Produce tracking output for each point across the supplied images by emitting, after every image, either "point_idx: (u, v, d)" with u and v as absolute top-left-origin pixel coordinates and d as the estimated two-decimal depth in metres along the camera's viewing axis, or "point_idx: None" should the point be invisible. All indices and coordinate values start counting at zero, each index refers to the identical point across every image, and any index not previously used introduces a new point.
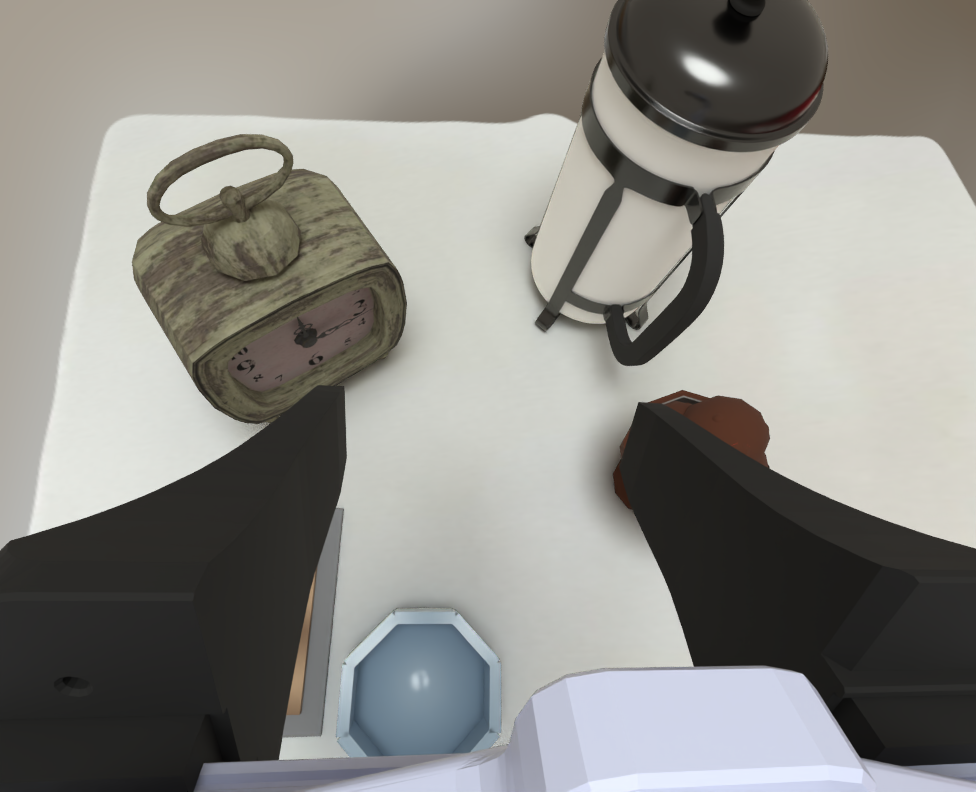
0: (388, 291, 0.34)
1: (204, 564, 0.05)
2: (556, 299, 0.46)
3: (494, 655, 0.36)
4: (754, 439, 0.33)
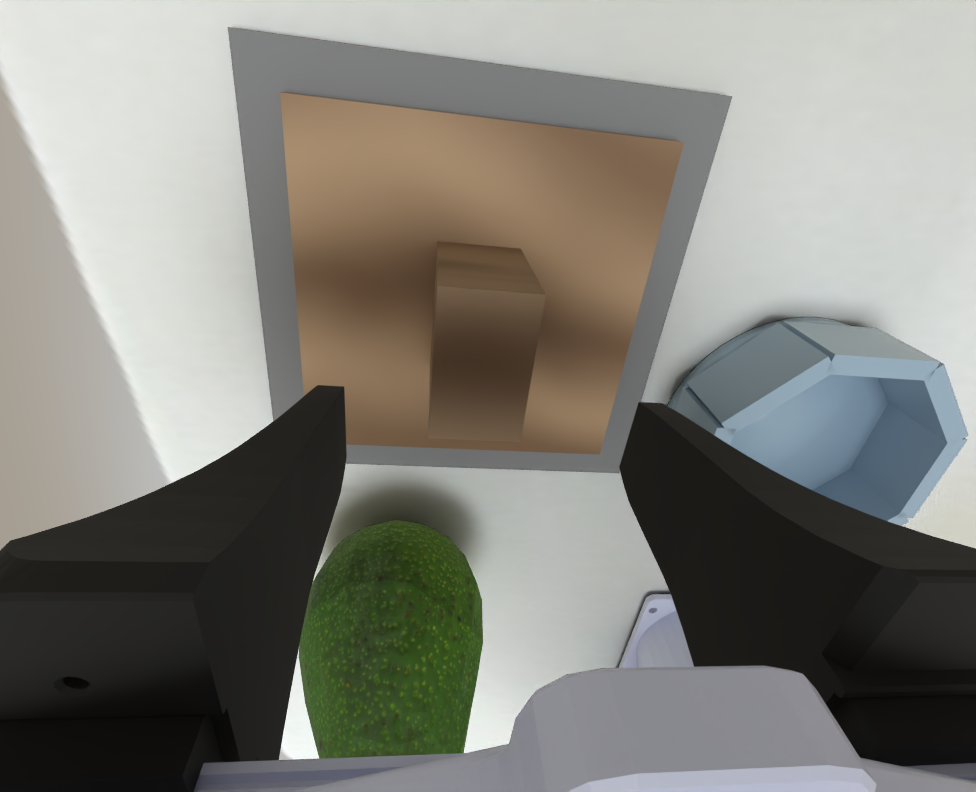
0: None
1: (204, 564, 0.05)
2: None
3: (964, 430, 0.21)
4: None
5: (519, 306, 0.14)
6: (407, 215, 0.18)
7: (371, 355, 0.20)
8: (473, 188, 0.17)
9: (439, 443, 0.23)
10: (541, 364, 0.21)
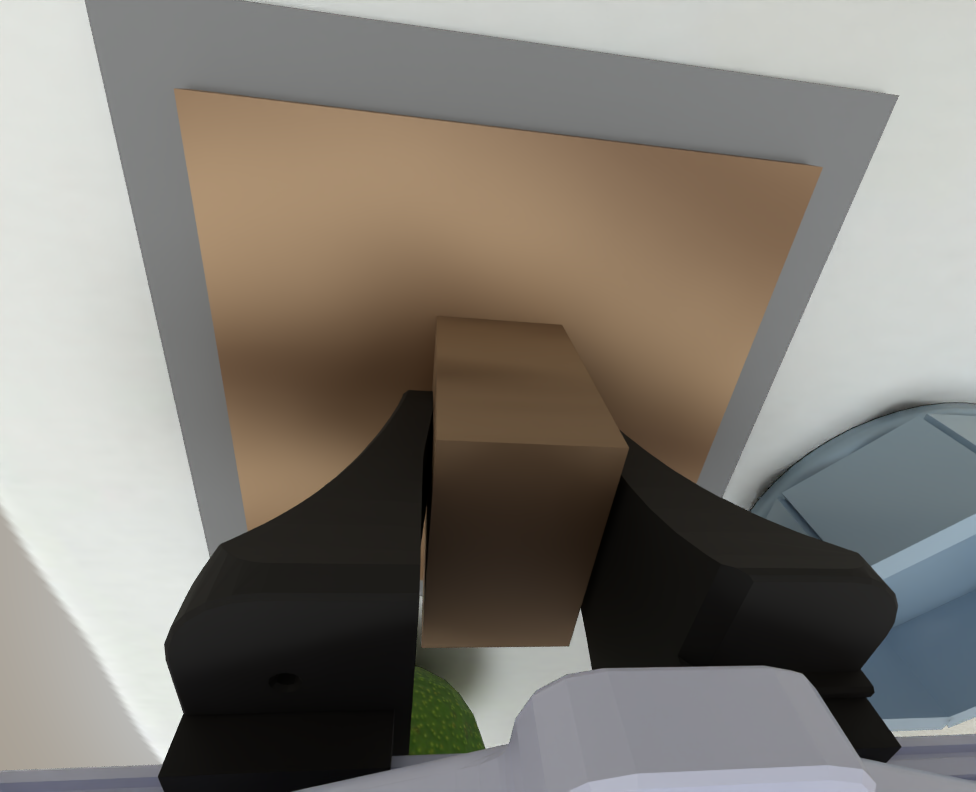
0: None
1: (415, 566, 0.05)
2: None
3: None
4: None
5: (582, 466, 0.08)
6: (390, 279, 0.11)
7: (341, 470, 0.14)
8: (492, 238, 0.11)
9: None
10: None
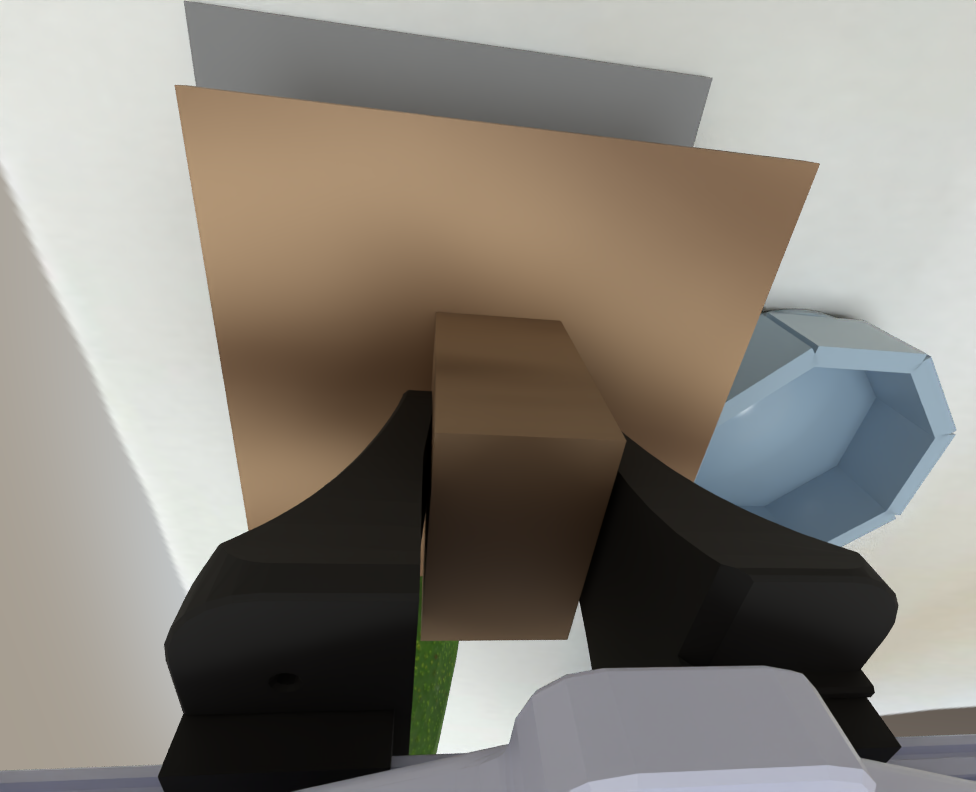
0: None
1: (414, 566, 0.05)
2: None
3: (951, 424, 0.20)
4: None
5: (579, 458, 0.08)
6: (389, 275, 0.11)
7: (341, 466, 0.14)
8: (491, 235, 0.11)
9: None
10: None
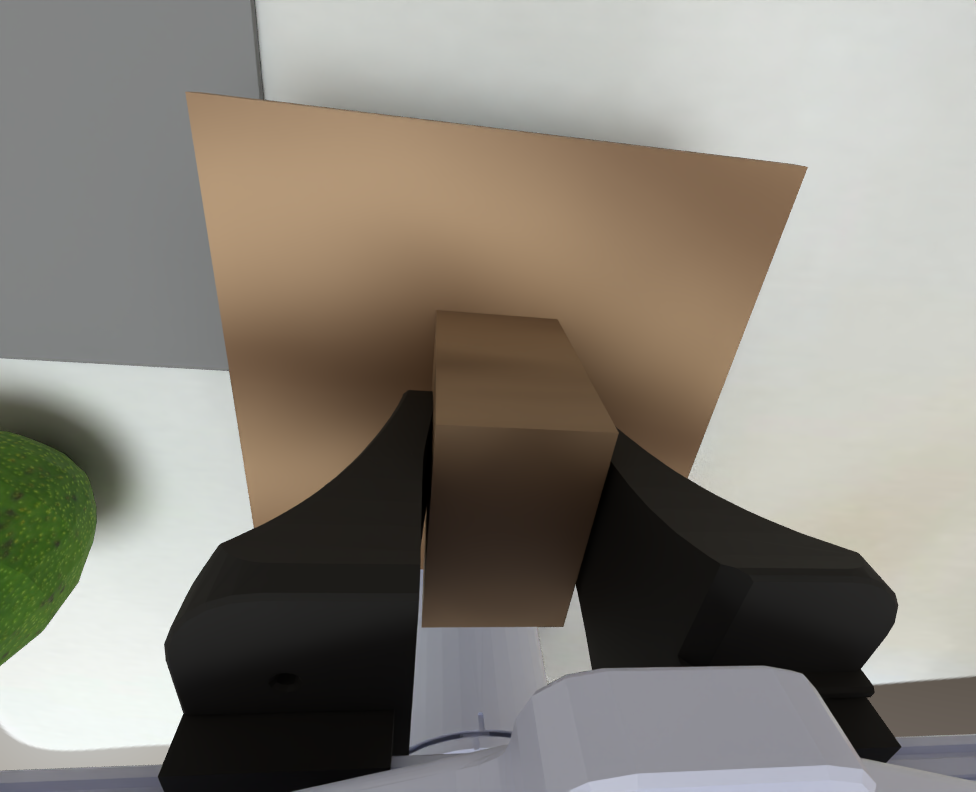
0: None
1: (414, 566, 0.05)
2: None
3: None
4: None
5: (574, 450, 0.09)
6: (391, 275, 0.12)
7: (343, 461, 0.14)
8: (490, 235, 0.12)
9: None
10: None
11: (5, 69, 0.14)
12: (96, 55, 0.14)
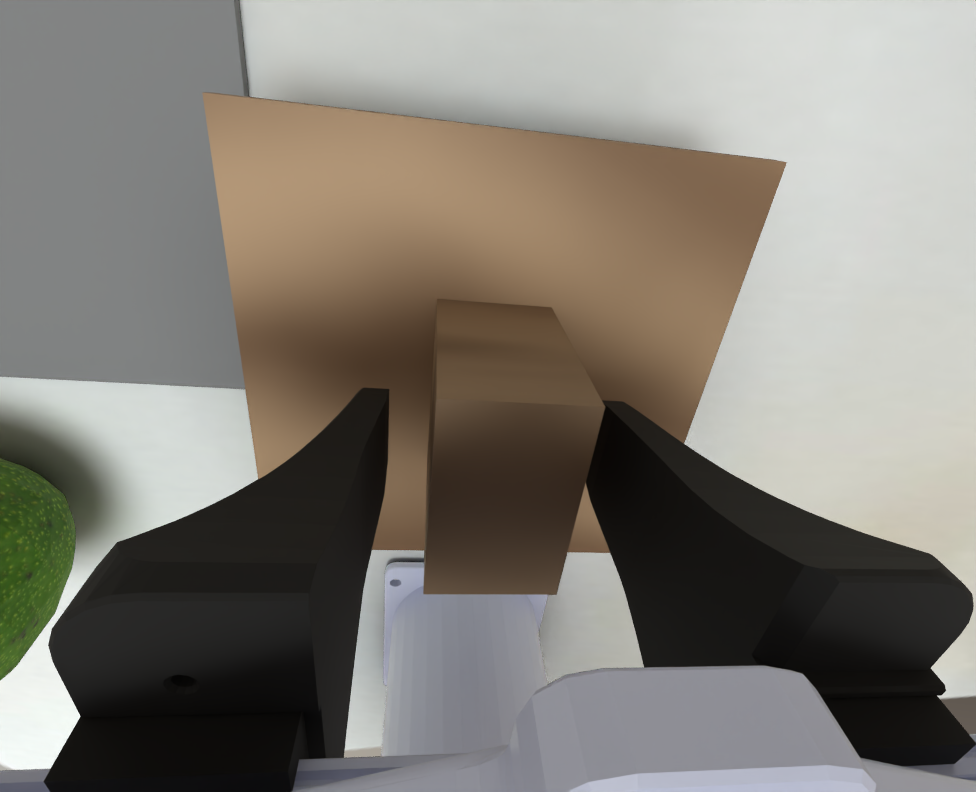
0: None
1: (311, 565, 0.05)
2: None
3: None
4: None
5: (564, 423, 0.09)
6: (394, 265, 0.13)
7: None
8: (487, 227, 0.12)
9: None
10: None
11: None
12: (65, 50, 0.13)
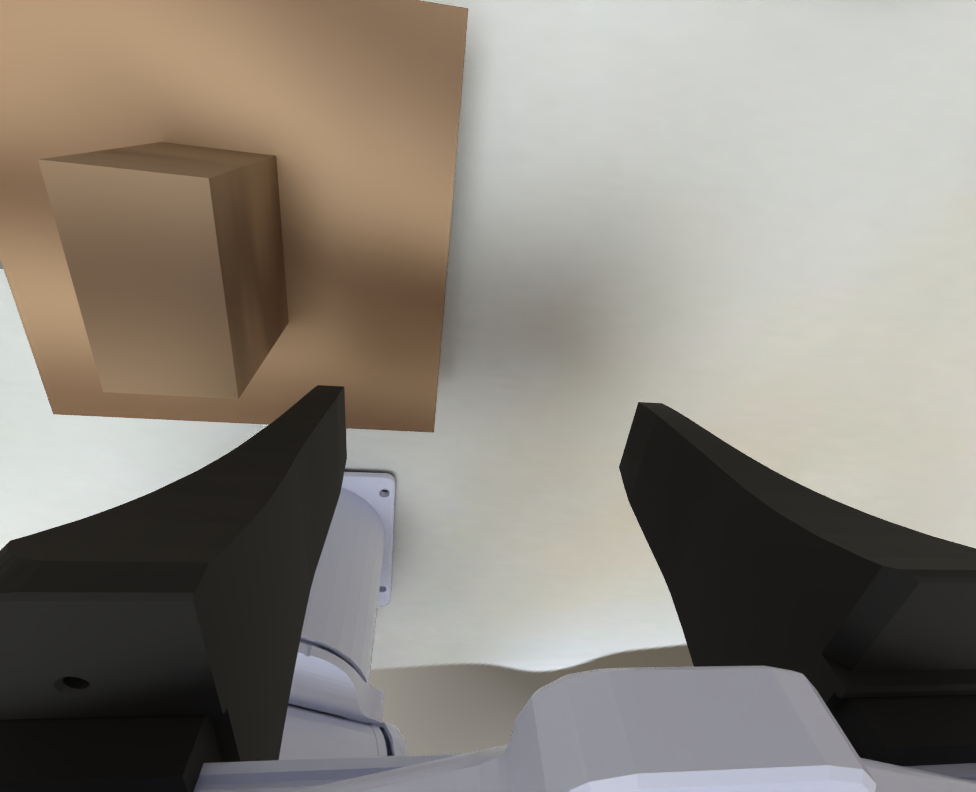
0: None
1: (204, 564, 0.05)
2: None
3: None
4: None
5: (174, 195, 0.10)
6: (110, 104, 0.13)
7: None
8: (193, 67, 0.13)
9: (225, 416, 0.18)
10: (336, 314, 0.17)
11: None
12: None
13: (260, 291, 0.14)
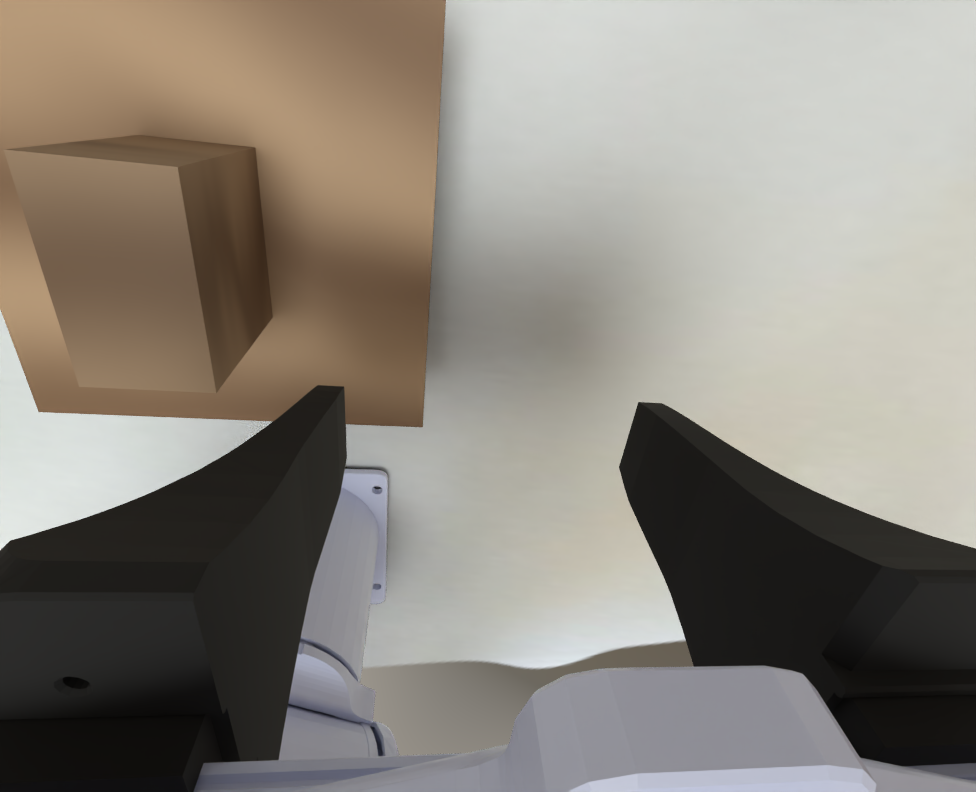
0: None
1: (204, 564, 0.05)
2: None
3: None
4: None
5: (143, 184, 0.10)
6: (86, 96, 0.13)
7: None
8: (168, 58, 0.13)
9: (212, 412, 0.18)
10: (321, 308, 0.17)
11: None
12: None
13: (240, 284, 0.14)
